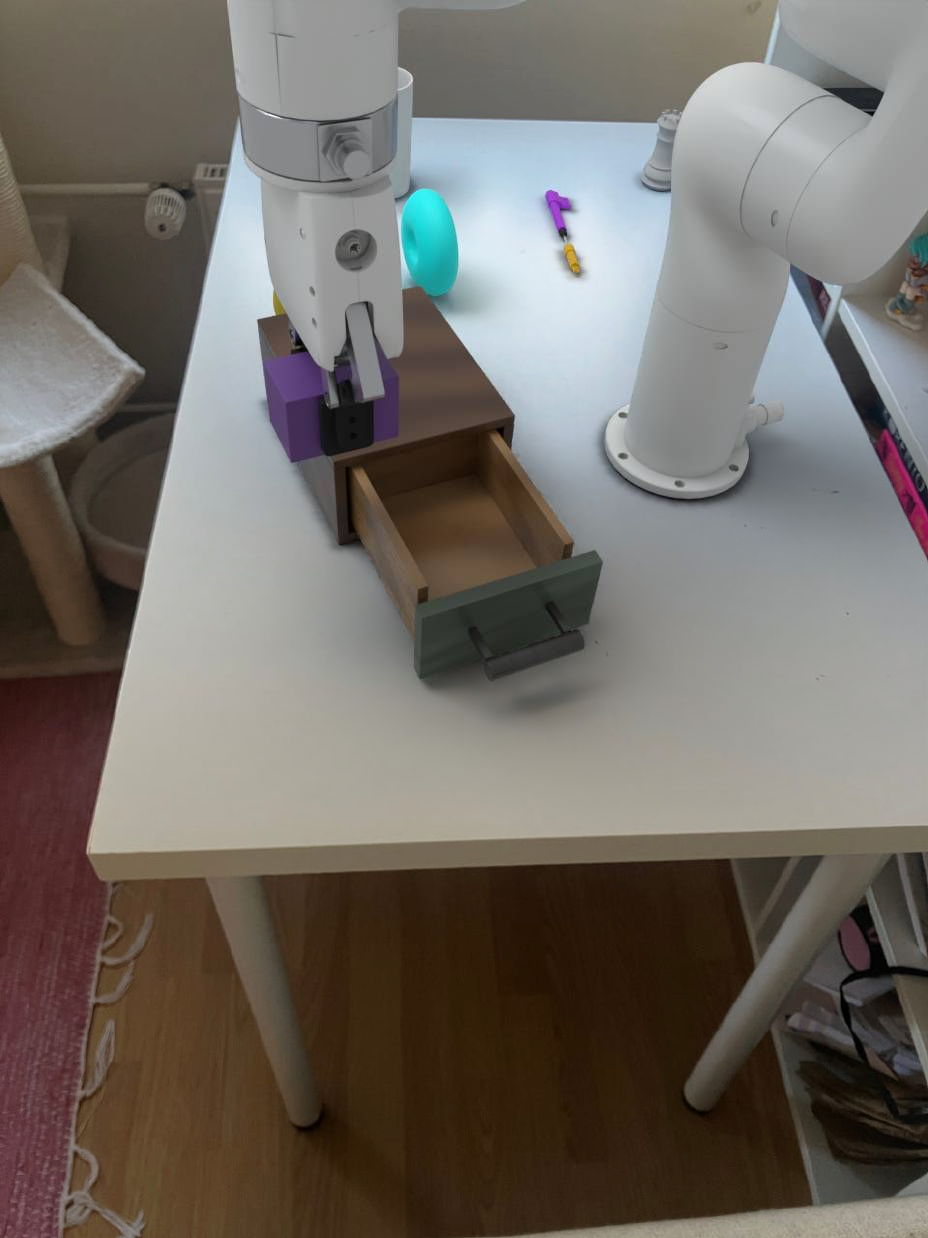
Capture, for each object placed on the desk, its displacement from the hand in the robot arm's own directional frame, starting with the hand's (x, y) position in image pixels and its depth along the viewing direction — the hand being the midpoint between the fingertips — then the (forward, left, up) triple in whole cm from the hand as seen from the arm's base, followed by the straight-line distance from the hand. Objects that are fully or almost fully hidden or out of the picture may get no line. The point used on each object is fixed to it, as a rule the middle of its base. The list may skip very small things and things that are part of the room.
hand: (333, 421), depth 62 cm
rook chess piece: (-57, -48, -18) cm, 76 cm away
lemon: (-8, -33, -18) cm, 38 cm away
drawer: (-9, +3, -17) cm, 19 cm away
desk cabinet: (-9, -15, -18) cm, 25 cm away
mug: (-25, -56, -18) cm, 64 cm away
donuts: (-19, -37, -18) cm, 45 cm away
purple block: (0, 0, -1) cm, 1 cm away
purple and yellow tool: (-41, -41, -18) cm, 60 cm away
